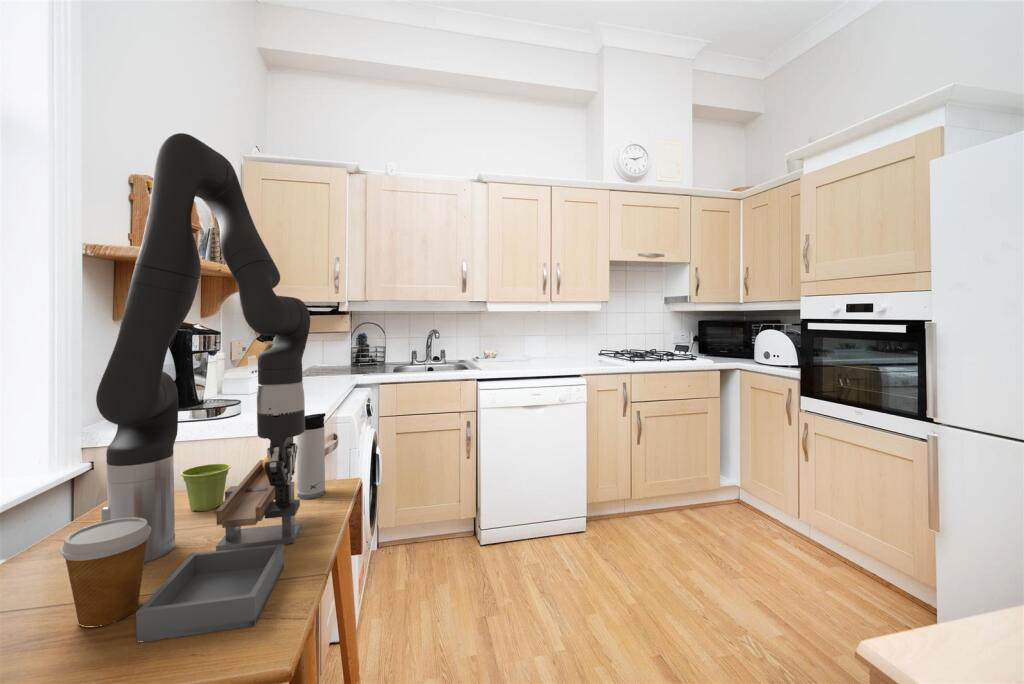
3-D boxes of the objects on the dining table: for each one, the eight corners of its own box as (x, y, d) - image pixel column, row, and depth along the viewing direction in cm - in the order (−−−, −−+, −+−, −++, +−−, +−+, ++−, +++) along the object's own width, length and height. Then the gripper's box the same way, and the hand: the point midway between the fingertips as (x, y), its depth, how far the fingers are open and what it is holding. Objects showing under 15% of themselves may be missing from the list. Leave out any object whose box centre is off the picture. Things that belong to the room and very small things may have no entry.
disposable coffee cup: (150, 586, 70) (148, 510, 69) (155, 615, 63) (153, 530, 62) (64, 612, 63) (62, 529, 63) (58, 647, 56) (56, 553, 56)
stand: (215, 551, 81) (215, 496, 80) (230, 534, 87) (229, 483, 87) (293, 543, 84) (293, 489, 84) (301, 527, 91) (301, 478, 90)
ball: (259, 475, 92) (260, 455, 92) (265, 470, 95) (265, 452, 96) (281, 473, 93) (281, 454, 93) (285, 469, 96) (285, 450, 97)
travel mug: (319, 499, 106) (318, 416, 106) (292, 499, 106) (291, 416, 106) (330, 490, 112) (330, 411, 112) (304, 490, 112) (304, 411, 112)
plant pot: (179, 505, 102) (179, 468, 102) (227, 496, 108) (227, 460, 108) (182, 518, 95) (182, 478, 95) (234, 507, 101) (233, 469, 101)
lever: (217, 540, 73) (216, 511, 73) (260, 482, 96) (260, 460, 96) (292, 532, 76) (291, 504, 76) (317, 478, 99) (316, 456, 99)
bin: (136, 643, 57) (136, 612, 57) (191, 578, 72) (191, 553, 72) (254, 625, 60) (254, 596, 60) (283, 567, 75) (283, 543, 75)
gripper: (268, 403, 84) (270, 494, 85) (245, 416, 72) (247, 522, 72) (311, 401, 86) (312, 490, 87) (296, 413, 73) (298, 517, 74)
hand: (283, 504), depth 79 cm, fingers closed
